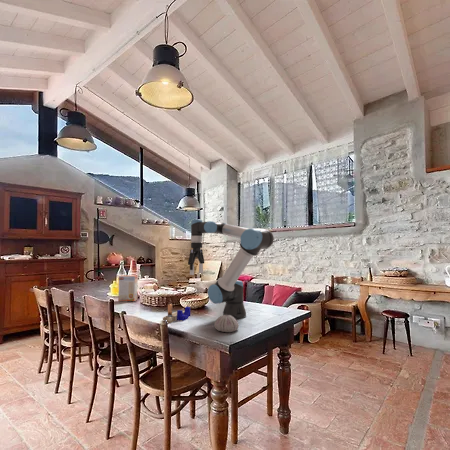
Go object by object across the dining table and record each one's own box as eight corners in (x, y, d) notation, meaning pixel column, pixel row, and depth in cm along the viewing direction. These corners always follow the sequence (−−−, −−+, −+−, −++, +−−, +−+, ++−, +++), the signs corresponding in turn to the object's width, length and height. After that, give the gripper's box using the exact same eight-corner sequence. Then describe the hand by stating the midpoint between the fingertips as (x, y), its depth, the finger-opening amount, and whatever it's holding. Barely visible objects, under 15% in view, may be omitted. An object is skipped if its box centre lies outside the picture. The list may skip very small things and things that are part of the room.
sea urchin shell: (225, 325, 169) (225, 311, 170) (244, 329, 160) (243, 314, 160) (209, 330, 159) (209, 315, 160) (227, 335, 150) (227, 319, 151)
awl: (172, 320, 179) (172, 304, 179) (170, 322, 176) (170, 305, 177) (169, 320, 180) (169, 304, 180) (166, 321, 177) (167, 304, 178)
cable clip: (183, 321, 179) (183, 311, 179) (177, 320, 181) (177, 310, 181) (192, 316, 190) (192, 307, 191) (186, 316, 192) (186, 306, 192)
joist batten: (186, 315, 192) (186, 311, 192) (170, 323, 173) (170, 318, 173) (179, 315, 194) (179, 310, 194) (162, 322, 175) (162, 317, 175)
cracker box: (137, 300, 244) (137, 275, 246) (134, 302, 238) (134, 276, 240) (121, 300, 246) (122, 275, 247) (118, 301, 240) (118, 275, 241)
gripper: (193, 242, 185) (193, 276, 184) (209, 242, 208) (209, 272, 207) (182, 242, 188) (182, 275, 186) (199, 242, 211) (199, 272, 209)
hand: (196, 274), depth 197 cm, fingers open, 13 cm apart
